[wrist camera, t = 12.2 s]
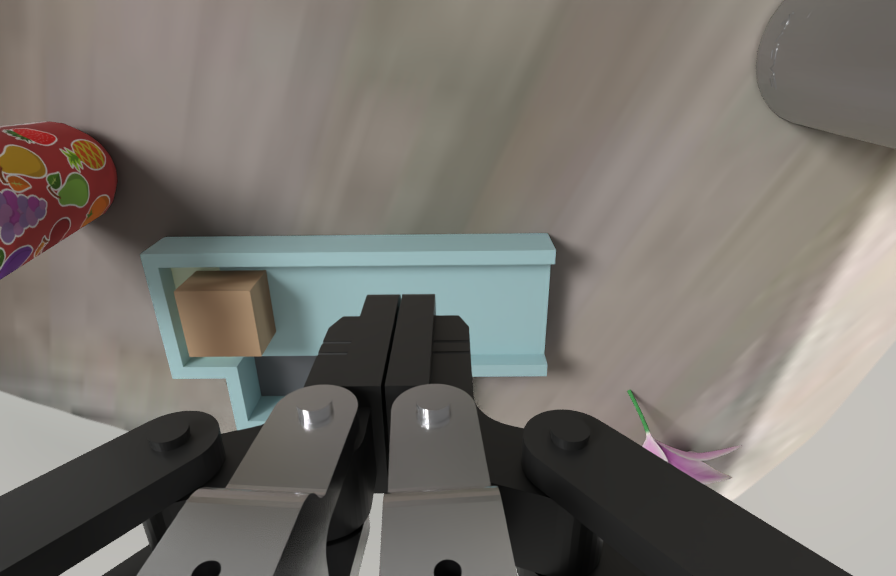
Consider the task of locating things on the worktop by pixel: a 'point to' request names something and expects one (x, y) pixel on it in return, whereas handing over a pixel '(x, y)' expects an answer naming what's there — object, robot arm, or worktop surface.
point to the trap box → (358, 299)
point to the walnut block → (226, 313)
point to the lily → (685, 456)
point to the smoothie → (48, 188)
